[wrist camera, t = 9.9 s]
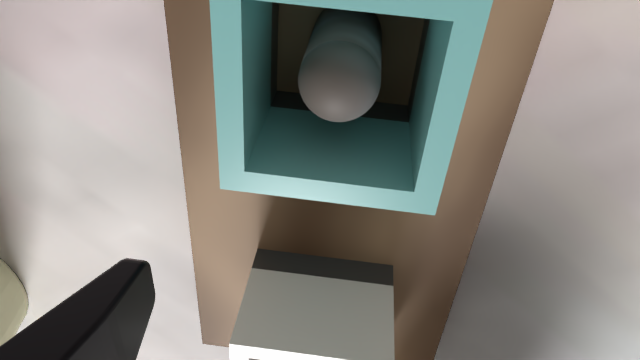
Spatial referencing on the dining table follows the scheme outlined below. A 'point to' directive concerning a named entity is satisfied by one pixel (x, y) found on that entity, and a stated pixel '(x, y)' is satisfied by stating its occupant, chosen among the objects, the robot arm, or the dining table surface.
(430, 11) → the teal sleeve
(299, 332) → the grey sleeve
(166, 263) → the dining table surface
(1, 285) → the reusable coffee cup
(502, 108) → the pin board
